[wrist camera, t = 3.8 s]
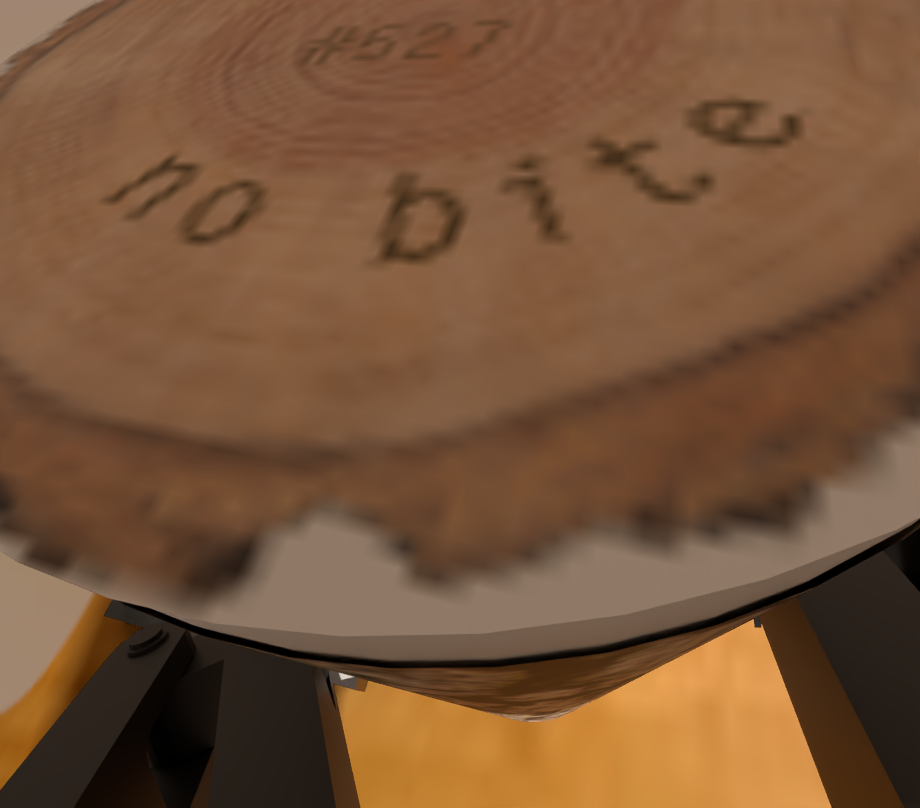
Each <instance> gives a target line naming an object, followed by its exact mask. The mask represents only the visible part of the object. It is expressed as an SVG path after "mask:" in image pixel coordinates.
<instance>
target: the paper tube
mask: <svg viewBox="0 0 920 808" xmlns="http://www.w3.org/2000/svg"><path fill="white" fill-rule="evenodd" d="M919 528H920V0H95V1H93V2H91V3H89V4H88V5H86V6H85V7H83V8H81V9H80V10H78V11H76V12H75V13H73V14H72V15H70V16H68V17H67V18H65V19H63V20H62V21H60V22H59V23H57V24H56V25H54V26H53V27H51V28H50V29H48V30H47V31H45V32H44V33H42V34H41V35H40V36H38V37H37V38H35V39H34V40H32V41H31V42H30V43H28V44H26V45H25V46H24V47H23V48H21V49H20V50H19V51H17V52H16V53H15V54H13V55H12V56H11V57H10V58H8V59H7V60H5V61H4V62H3V63H2V64H0V551H1V552H2V553H4V554H5V555H7V556H9V557H10V558H12V559H14V560H15V561H17V562H19V563H21V564H24V565H26V566H28V567H31V568H33V569H36V570H39V571H41V572H44V573H46V574H48V575H51V576H54V577H56V578H59V579H61V580H64V581H66V582H69V583H71V584H74V585H76V586H79V587H81V588H84V589H86V590H89V591H91V592H94V593H96V594H99V595H101V596H104V597H106V598H110V599H114V600H117V601H119V602H120V603H122V604H124V605H125V606H128V607H130V608H133V609H135V610H138V611H140V612H143V613H145V614H148V615H150V616H153V617H155V618H158V619H161V620H163V621H166V622H168V623H171V624H173V625H176V626H178V627H181V628H183V629H186V630H188V631H191V632H193V633H196V634H198V635H201V636H204V637H208V638H212V639H215V640H219V641H223V642H227V643H230V644H234V645H238V646H241V647H245V648H249V649H253V650H256V651H260V652H264V653H268V654H271V655H275V656H279V657H282V658H286V659H290V660H294V661H297V662H301V663H305V664H309V665H312V666H316V667H320V668H323V669H327V670H331V671H335V672H338V673H342V674H346V675H350V676H353V677H357V678H361V679H364V680H368V681H372V682H376V683H379V684H383V685H387V686H391V687H394V688H398V689H402V690H405V691H409V692H413V693H417V694H420V695H424V696H428V697H432V698H435V699H439V700H443V701H446V702H450V703H454V704H458V705H461V706H465V707H469V708H473V709H476V710H480V711H484V712H487V713H491V714H495V715H499V716H502V717H506V718H510V719H514V720H518V721H526V722H540V721H548V720H552V719H556V718H559V717H560V716H564V715H566V714H568V713H570V712H572V711H574V710H576V709H578V708H580V707H582V706H584V705H586V704H588V703H590V702H592V701H594V700H596V699H598V698H599V697H601V696H603V695H605V694H607V693H609V692H611V691H613V690H615V689H617V688H619V687H621V686H623V685H625V684H627V683H629V682H631V681H633V680H635V679H637V678H639V677H641V676H643V675H645V674H646V673H648V672H650V671H652V670H654V669H656V668H658V667H660V666H662V665H664V664H666V663H668V662H670V661H672V660H674V659H676V658H678V657H680V656H682V655H684V654H686V653H688V652H690V651H692V650H693V649H695V648H697V647H699V646H701V645H703V644H705V643H707V642H709V641H711V640H713V639H715V638H717V637H719V636H721V635H723V634H725V633H727V632H729V631H731V630H733V629H735V628H737V627H739V626H740V625H742V624H744V623H746V622H748V621H750V620H752V619H754V618H756V617H758V616H760V615H762V614H764V613H766V612H768V611H770V610H772V609H774V608H776V607H778V606H780V605H782V604H784V603H786V602H787V601H789V600H791V599H793V598H795V597H797V596H799V595H801V594H803V593H805V592H807V591H809V590H811V589H813V588H815V587H817V586H819V585H820V584H822V583H824V582H826V581H828V580H830V579H832V578H833V577H835V576H837V575H839V574H841V573H843V572H844V571H846V570H848V569H850V568H852V567H854V566H855V565H857V564H859V563H861V562H863V561H865V560H867V559H868V558H870V557H872V556H874V555H876V554H878V553H879V552H881V551H883V550H885V549H887V548H889V547H891V546H892V545H894V544H896V543H898V542H900V541H902V540H903V539H905V538H906V537H908V536H909V535H910V534H912V533H913V532H915V531H916V530H917V529H919Z"/></svg>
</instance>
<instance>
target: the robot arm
mask: <svg viewBox="0 0 920 808" xmlns="http://www.w3.org/2000/svg"><path fill="white" fill-rule="evenodd" d="M761 623H762V625H763V628H764V631H765V633H766V636H767V638H768V641H769V644H770V646H771V649H772V652H773V654H774V657H775V659H776V662H777V665H778V667H779V670H780V673H781V675H782V678H783V681H784V683H785V686H786V688H787V691H788V694H789V696H790V699H791V702H792V704H793V707H794V709H795V712H796V715H797V717H798V720H799V723H800V725H801V728H802V731H803V733H804V736H805V738H806V741H807V744H808V746H809V749H810V752H811V754H812V757H813V760H814V762H815V765H816V767H817V770H818V773H819V775H820V778H821V781H822V783H823V786H824V788H825V791H826V794H827V796H828V799H829V802H830V804H831V807H832V808H920V528H919V529H917V530H916V531H915V532H913V533H912V534H910V535H909V536H908V537H906V538H905V539H903V540H902V541H900V542H898V543H896V544H894V545H892V546H891V547H889V548H887V549H885V550H883V551H881V552H879V553H878V554H876V555H874V556H872V557H870V558H868V559H867V560H865V561H863V562H861V563H859V564H857V565H855V566H854V567H852V568H850V569H848V570H846V571H844V572H843V573H841V574H839V575H837V576H835V577H833V578H832V579H830V580H828V581H826V582H824V583H822V584H820V585H819V586H817V587H815V588H813V589H811V590H809V591H807V592H805V593H803V594H801V595H799V596H797V597H795V598H793V599H791V600H789V601H787V602H786V603H784V604H782V605H780V606H778V607H776V608H774V609H772V610H770V611H768V612H766V613H764V614H762V615H760V616H758V617H756V618H754V625H755V627H761ZM339 675H340V678H341V680H343V679H347V678H352V677H353V676H350V675H346V674H342V673H339ZM0 808H360V804H359V799H358V795H357V790H356V785H355V781H354V776H353V772H352V767H351V763H350V758H349V754H348V749H347V744H346V740H345V735H344V731H343V726H342V722H341V717H340V713H339V708H338V703H337V699H336V694H335V690H334V687H333V684H332V681H331V678H330V675H329V670H327V669H323V668H320V667H316V666H312V665H309V664H305V663H301V662H297V661H294V660H290V659H286V658H282V657H279V656H275V655H271V654H268V653H264V652H260V651H256V650H253V649H249V648H245V647H241V646H238V645H234V644H230V643H227V642H223V641H219V640H215V639H212V638H208V637H204V636H201V635H196V636H193V637H192V636H191V634H190V631H188V630H186V629H183V628H181V627H178V626H176V625H173V624H171V623H168V622H166V621H163V622H160V623H158V624H155V625H154V624H151V625H149V626H147V627H144V629H143V630H142V629H140V630H139V631H137V632H135V633H134V634H133V635H132V636H131V637H130V638H128V639H127V640H126V641H124V642H123V643H121V644H120V645H119V646H118V647H117V648H116V649H115V650H114V651H113V652H112V653H111V654H110V655H109V657H108V658H107V659H106V660H105V662H104V663H103V664H102V665H101V666H100V668H99V669H98V670H97V671H96V673H95V674H94V675H93V676H92V678H91V679H90V680H89V681H88V683H87V684H86V685H85V686H84V688H83V689H82V690H81V691H80V692H79V694H78V695H77V696H76V697H75V699H74V700H73V701H72V702H71V704H70V705H69V706H68V707H67V709H66V710H65V711H64V712H63V713H62V715H61V716H60V717H59V718H58V720H57V721H56V722H55V723H54V725H53V726H52V727H51V728H50V730H49V731H48V732H47V733H46V734H45V736H44V737H43V738H42V739H41V741H40V742H39V743H38V744H37V746H36V747H35V748H34V749H33V751H32V752H31V753H30V754H29V756H28V757H27V758H26V759H25V760H24V762H23V763H22V764H21V765H20V767H19V768H18V769H17V770H16V772H15V773H14V774H13V775H12V777H11V778H10V779H9V780H8V781H7V783H6V784H5V785H4V786H3V788H2V789H1V790H0Z"/></svg>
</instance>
